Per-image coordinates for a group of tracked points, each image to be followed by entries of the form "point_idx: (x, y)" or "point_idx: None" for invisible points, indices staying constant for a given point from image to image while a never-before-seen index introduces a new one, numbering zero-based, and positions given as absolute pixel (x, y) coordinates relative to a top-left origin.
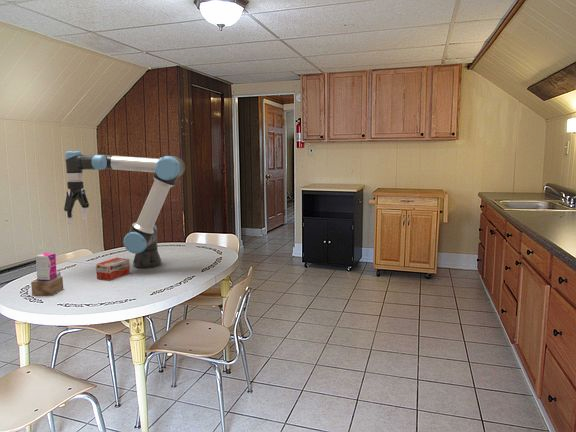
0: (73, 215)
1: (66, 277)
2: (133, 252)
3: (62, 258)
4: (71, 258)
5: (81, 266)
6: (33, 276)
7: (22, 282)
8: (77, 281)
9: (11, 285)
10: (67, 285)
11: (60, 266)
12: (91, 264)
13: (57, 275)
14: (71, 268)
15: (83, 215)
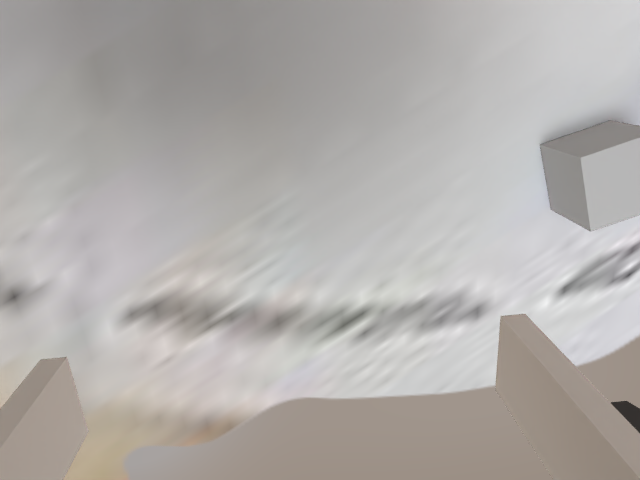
0: (582, 411)
1: (421, 189)
2: None
3: None
4: None
5: (171, 251)
6: (407, 368)
7: None
8: (505, 68)
9: None
10: (585, 79)
11: (197, 366)
12: (108, 218)
13: (637, 134)
14: (227, 281)
15: (44, 466)
